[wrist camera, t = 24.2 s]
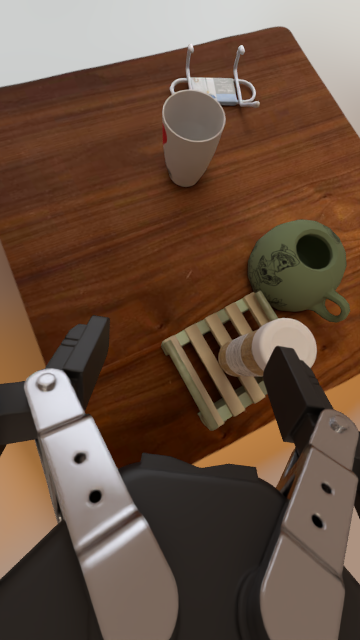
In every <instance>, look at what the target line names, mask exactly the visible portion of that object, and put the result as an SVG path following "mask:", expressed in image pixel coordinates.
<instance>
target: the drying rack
mask: <svg viewBox="0 0 360 640" xmlns="http://www.w3.org/2000/svg"><path fill="white" fill-rule="evenodd" d="M248 310H249V311H250V312H251V314H252V316H253V317H254V319H255V320H256V322H257V324H258V325H259V327H261V326H263V325H264V324H266V323H268V322H271V321H273V320H276V319H278V317H277V316H276V314H275V312H274V311H273V309H272V308H271V306H270V304H269V303H268V301H267V300H266V298H265V296H264V295H263V293H262V291H259V292H257V293H254V292H252V293H251V294H249V295H247V296H245V297H244V298H242V299H241V300H239V301H237V302H234V303H232V304H230V305H228V306H227V307H225V308H224V309H222V310H220V311H219V312H217V313H214V314H212V315H210V316H208V317H206V318H205V319H204V320H202V321H200V322H198V323H195V324H193V325H192V326H190V327H188V328H186V329H185V330H184V331H182V332H180V333H178V334H176V335H173V336H171V337H169V338H168V339H166V340H164V341H163V342H162V344H161V347H162V349H163V351H164V353H165V355H166V356H167V355H170V357H171V359H172V360H173V362H174V364H175V366H176V368H177V370H178V371H179V373H180V375H181V377H182V379H183V381H184V382H185V384H186V386H187V388H188V390H189V391H190V393H191V395H192V397H193V399H194V401H195V402H196V404H197V406H198V408H199V410H200V411H201V412H199V413H198V415H199V417H200V419H201V421H202V422H203V424H204V425H205V426H206V427H207V428H208V429H210V430H211V431H213V430H215V429H217V428H218V427H220V426H221V425H223V424H224V421H225V420H227V419H228V418H230V417H232V416H234V417H235V416H237V415H238V414H240V413H241V412H243V411H244V410H245V408H246V407H247V406H249V405H250V404H252V403H257V402H258V401H260V400H261V399H263V398H265V395H266V394H267V390H266V387H265V384H264V381H263V376H257V377H255V378H254V377H253V376H239V377H238V379H239V380H240V382H241V384H242V386H241V387H239V388H238V389H236V390H235V391H234V389H233V387H232V386H231V384H230V382H229V381H228V379H227V377H226V375H225V374H224V372H223V370H222V368H221V367H220V365H219V363H218V361H217V360H216V358H215V356H214V354H213V353H212V351H211V349H210V347H209V346H208V344H207V342H206V340H205V339H204V337H203V335H205V334H207V333H208V332H210V331H211V332H212V334H213V336H214V337H215V339H216V341H217V342H218V344H219V346H220V348H221V347H222V346H223V345H224V344H225V343H227V342H228V341H231V340H232V339H231V338H230V336H229V334H228V332H227V331H226V329H225V327H224V326H223V324H225V323H226V322H228V321H230V320H231V322H232V324H233V326H234V327H235V329H236V331H237V332H238V334H239V336H242V335H245V334H247V333H251V332H253V331H252V329H251V328H250V326H249V324H248V323H247V321H246V319H245V318H244V316H243V313H244V312H246V311H248ZM190 342H191V343H192V345H193V347H194V349H195V351H196V352H197V354H198V356H199V358H200V359H201V361H202V363H203V365H204V366H205V368H206V370H207V372H208V374H209V375H210V377H211V379H212V381H213V382H214V384H215V386H216V388H217V389H218V391H219V393H220V395H221V397H222V399H220V400H218V401H217V402H215V403H214V404H213V402H212V400H211V398H210V397H209V395H208V393H207V391H206V389H205V388H204V386H203V384H202V382H201V380H200V379H199V377H198V375H197V373H196V371H195V370H194V368H193V366H192V364H191V363H190V361H189V359H188V357H187V355H186V354H185V352H184V350H183V348H182V347H183V346H185V345H187V344H189V343H190Z"/></svg>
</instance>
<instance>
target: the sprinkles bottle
mask: <svg viewBox="0 0 360 640" xmlns="http://www.w3.org/2000/svg"><path fill="white" fill-rule="evenodd" d="M276 346H282V347H288V348H293V349H294V350H295V352H296V353H297V355H298V357H299V359H300V360H303V361H304V362H305V363H306V364H307V365H308V366H309V367H310V368H311V367H312V365H313V364H314V361H315V358H316V353H317V348H316V342H315V339H314V337H313V335H312V333H311V332H310V330H309V329H308V328H307V327H306V326H305V325H304V324H302V323H301V322H299V321H297V320H294V319H290V318H280V319H276V320H273V321H271V322H268V323H266V324H264V325H263V326H261V327H260V328H259V329H258V330H255V331H253V332H251V333H247V334H245V335H242V336H240V337H238V338H236V339H234V340H231V341H228V342H227V343H225V344H224V345H223V346H222V347H221V349H220V352H219V356H218V360H219V364H220V366H221V368H222V369H223V370H224V371H225V372H226V373H227V374H229V375H231V376H235V377H239V376H263V372H264V369H265V366H266V364H267V362H268V360H269V358H270V356H271V354H272V352H273V350H274V348H275V347H276Z"/></svg>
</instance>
